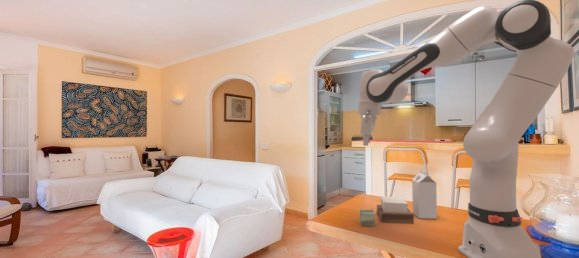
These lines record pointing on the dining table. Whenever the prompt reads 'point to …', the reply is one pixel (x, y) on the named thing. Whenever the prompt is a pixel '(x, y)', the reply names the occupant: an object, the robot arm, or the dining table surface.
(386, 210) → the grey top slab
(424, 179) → the milk carton
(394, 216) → the walnut base slab
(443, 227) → the dining table surface
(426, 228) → the dining table surface
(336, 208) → the dining table surface
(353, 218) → the dining table surface
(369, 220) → the sage cube
